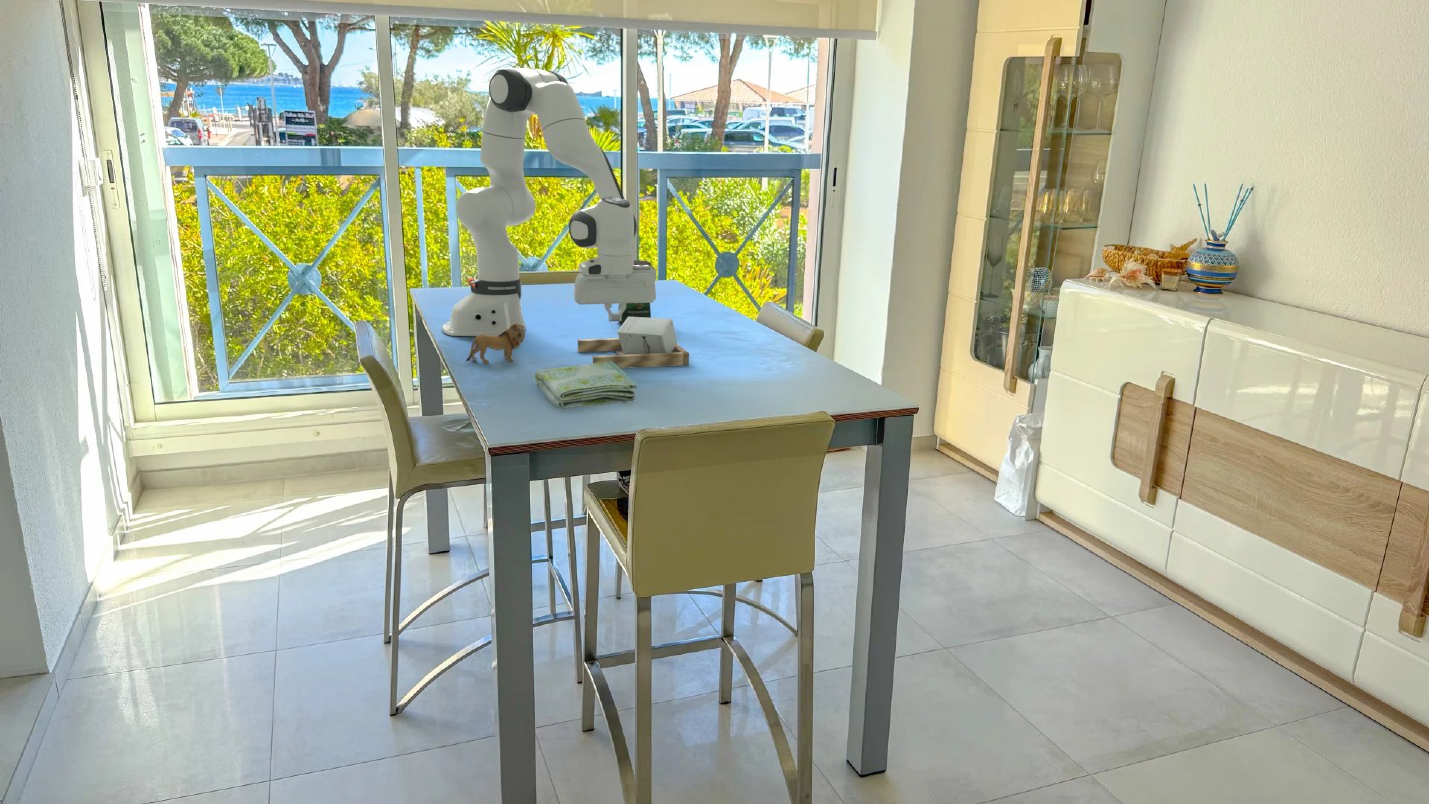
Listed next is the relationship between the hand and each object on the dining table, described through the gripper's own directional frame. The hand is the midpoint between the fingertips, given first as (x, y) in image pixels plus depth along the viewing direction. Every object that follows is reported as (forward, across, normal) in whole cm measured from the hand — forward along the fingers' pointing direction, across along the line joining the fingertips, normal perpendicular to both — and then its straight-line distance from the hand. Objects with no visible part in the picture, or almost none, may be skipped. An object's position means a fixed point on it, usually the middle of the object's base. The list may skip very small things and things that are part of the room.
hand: (615, 320), depth 244 cm
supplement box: (+5, -4, -4) cm, 7 cm away
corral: (+10, -5, 0) cm, 11 cm away
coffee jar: (+10, -16, -39) cm, 43 cm away
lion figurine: (+10, +28, -4) cm, 30 cm away
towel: (+10, +14, +28) cm, 33 cm away
